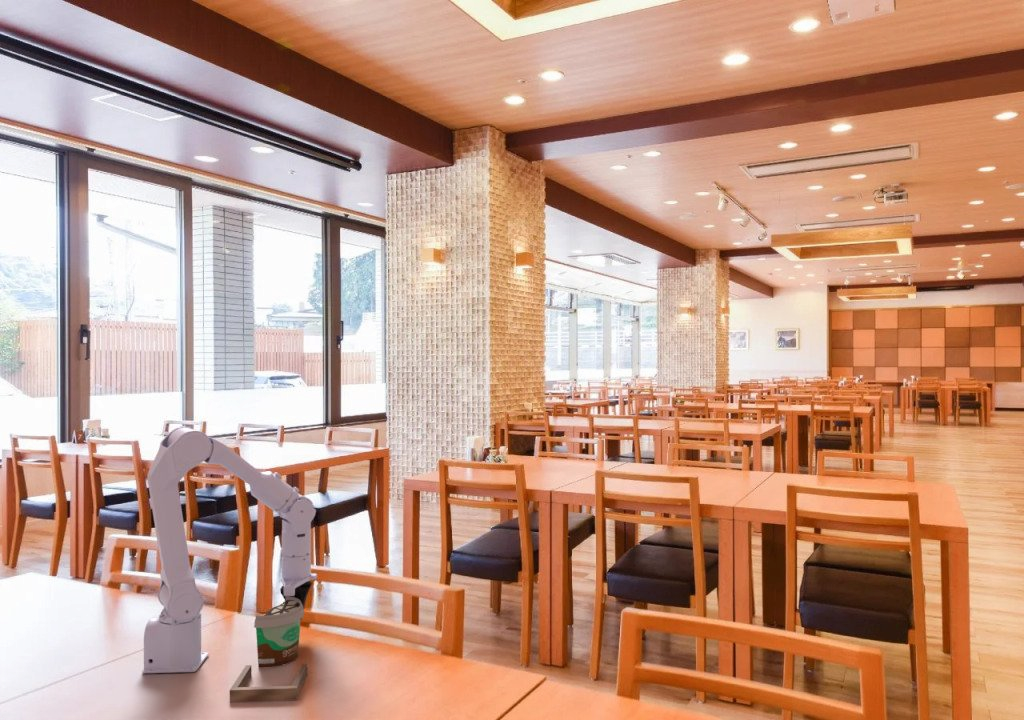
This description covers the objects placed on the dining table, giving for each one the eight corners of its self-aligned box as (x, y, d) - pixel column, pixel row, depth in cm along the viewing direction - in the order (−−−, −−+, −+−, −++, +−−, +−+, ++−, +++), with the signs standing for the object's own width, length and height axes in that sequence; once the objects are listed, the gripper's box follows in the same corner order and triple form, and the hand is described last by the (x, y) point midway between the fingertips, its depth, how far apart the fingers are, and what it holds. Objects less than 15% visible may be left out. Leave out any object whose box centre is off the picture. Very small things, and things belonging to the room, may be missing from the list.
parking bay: (229, 702, 127) (229, 690, 127) (245, 676, 137) (245, 665, 137) (296, 700, 128) (296, 688, 128) (307, 674, 138) (307, 663, 138)
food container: (284, 673, 138) (284, 619, 138) (254, 670, 139) (254, 616, 139) (315, 647, 150) (315, 597, 150) (287, 645, 152) (287, 595, 151)
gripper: (309, 563, 147) (309, 632, 148) (322, 544, 162) (322, 607, 162) (272, 563, 147) (272, 633, 147) (288, 544, 161) (288, 608, 161)
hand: (296, 620), depth 154 cm, fingers closed
